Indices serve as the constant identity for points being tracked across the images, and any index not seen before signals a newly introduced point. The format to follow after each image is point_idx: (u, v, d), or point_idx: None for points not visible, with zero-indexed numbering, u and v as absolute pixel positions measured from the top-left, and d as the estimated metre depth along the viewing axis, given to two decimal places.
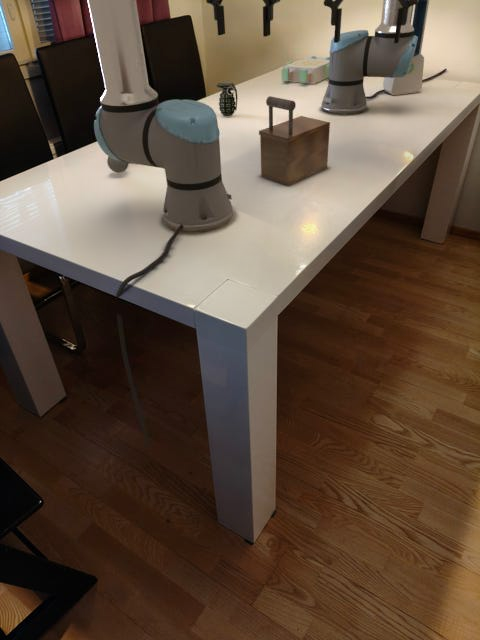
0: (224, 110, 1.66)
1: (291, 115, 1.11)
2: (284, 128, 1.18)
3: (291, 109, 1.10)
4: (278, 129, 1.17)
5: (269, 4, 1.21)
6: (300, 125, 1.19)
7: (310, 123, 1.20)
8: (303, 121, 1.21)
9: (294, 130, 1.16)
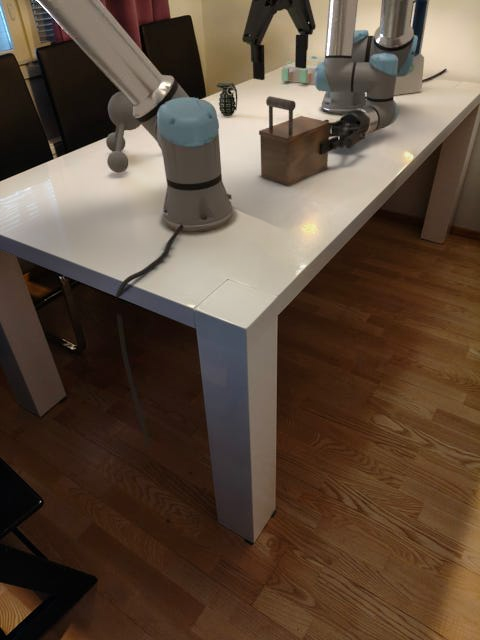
0: (224, 110, 1.66)
1: (291, 115, 1.11)
2: (284, 128, 1.18)
3: (291, 109, 1.10)
4: (278, 129, 1.17)
5: None
6: (300, 125, 1.19)
7: (310, 123, 1.20)
8: (303, 121, 1.21)
9: (294, 130, 1.16)
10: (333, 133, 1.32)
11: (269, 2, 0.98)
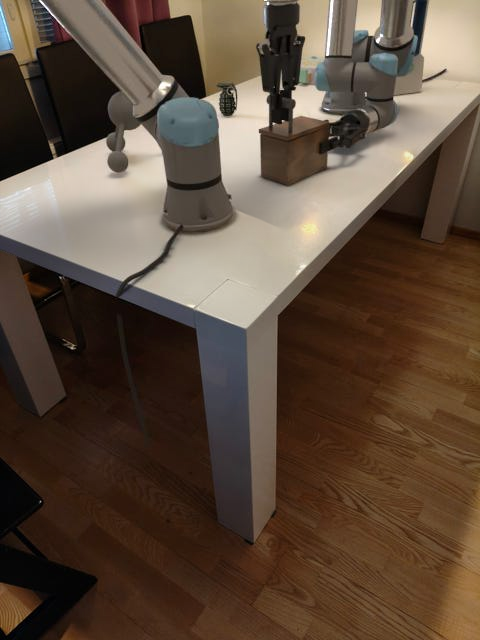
0: (224, 110, 1.66)
1: (291, 113, 1.11)
2: (284, 127, 1.17)
3: (291, 107, 1.10)
4: (278, 128, 1.17)
5: None
6: (300, 124, 1.19)
7: (310, 122, 1.20)
8: (303, 120, 1.21)
9: (294, 129, 1.16)
10: (333, 133, 1.32)
11: (270, 47, 1.03)
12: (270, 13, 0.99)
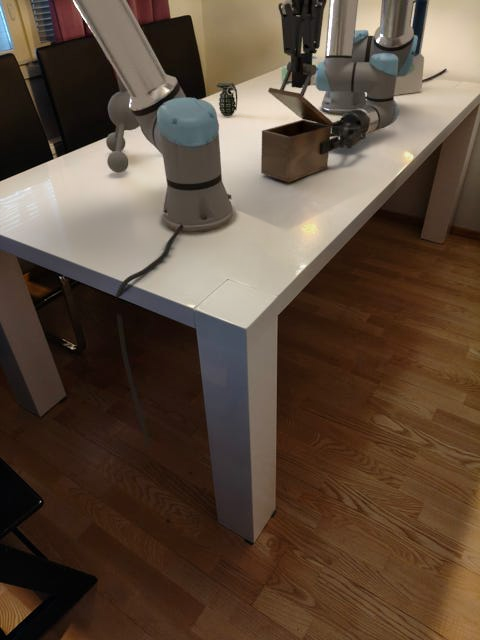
0: (224, 110, 1.66)
1: (309, 78, 1.10)
2: None
3: (311, 72, 1.09)
4: None
5: None
6: None
7: None
8: None
9: None
10: (333, 133, 1.32)
11: (292, 7, 1.03)
12: None
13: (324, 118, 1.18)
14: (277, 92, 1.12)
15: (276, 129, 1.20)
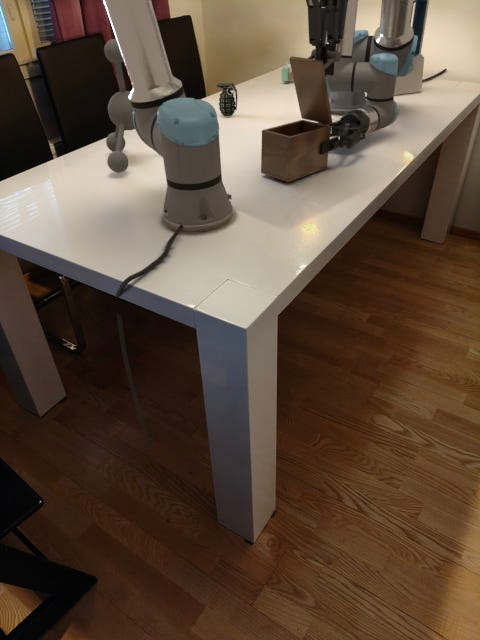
0: (224, 110, 1.66)
1: (331, 61, 1.13)
2: None
3: (336, 56, 1.13)
4: None
5: None
6: None
7: None
8: None
9: None
10: (333, 133, 1.32)
11: None
12: None
13: (329, 111, 1.18)
14: (299, 59, 1.12)
15: (276, 129, 1.20)
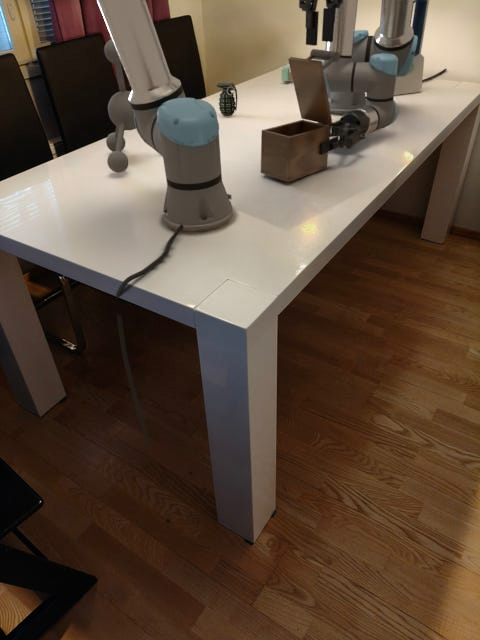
0: (224, 110, 1.66)
1: (331, 61, 1.13)
2: None
3: (335, 57, 1.13)
4: None
5: None
6: None
7: None
8: None
9: None
10: (333, 133, 1.32)
11: None
12: None
13: (328, 111, 1.18)
14: (298, 59, 1.12)
15: (276, 129, 1.20)
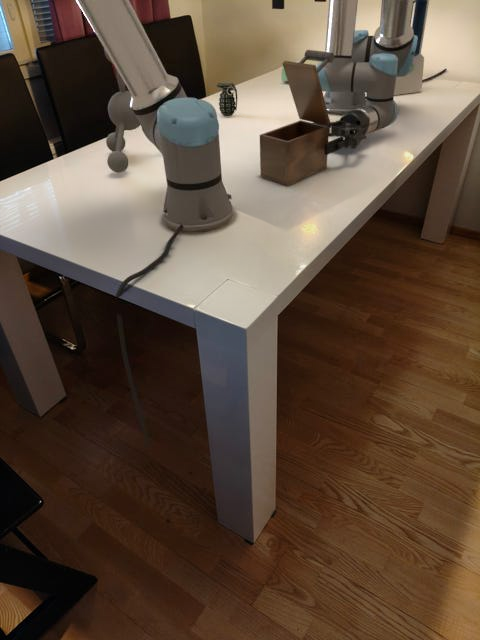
0: (224, 110, 1.66)
1: (325, 62, 1.12)
2: None
3: (329, 58, 1.12)
4: None
5: None
6: None
7: None
8: None
9: None
10: (333, 133, 1.32)
11: None
12: None
13: (325, 112, 1.17)
14: (292, 64, 1.12)
15: (274, 132, 1.20)
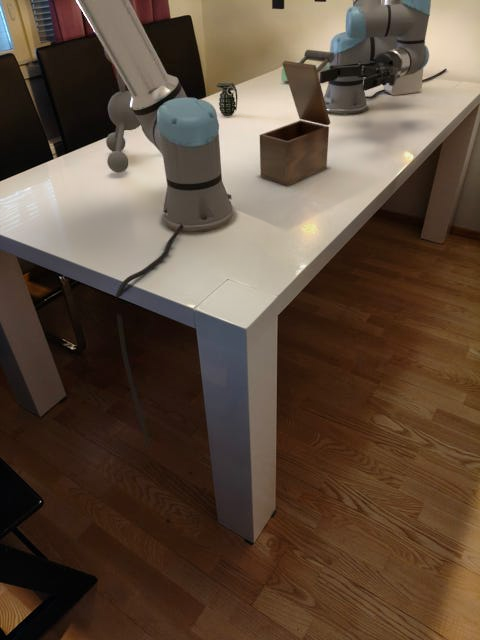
0: (224, 110, 1.66)
1: (325, 62, 1.12)
2: None
3: (329, 58, 1.11)
4: None
5: None
6: None
7: None
8: None
9: None
10: (365, 74, 1.31)
11: None
12: None
13: (325, 112, 1.17)
14: (292, 64, 1.12)
15: (274, 132, 1.20)
